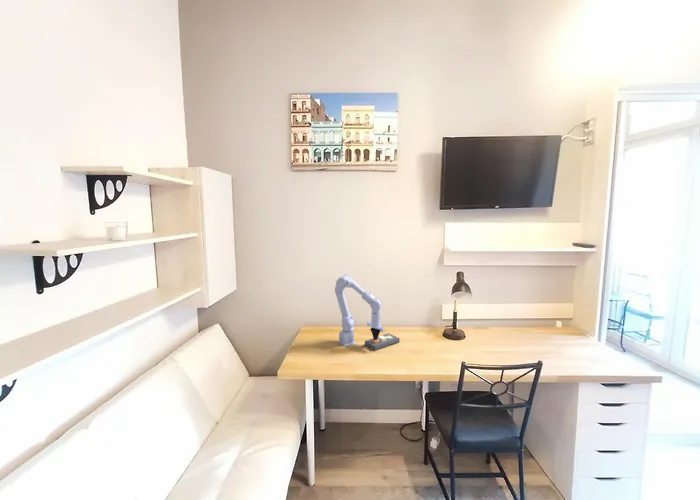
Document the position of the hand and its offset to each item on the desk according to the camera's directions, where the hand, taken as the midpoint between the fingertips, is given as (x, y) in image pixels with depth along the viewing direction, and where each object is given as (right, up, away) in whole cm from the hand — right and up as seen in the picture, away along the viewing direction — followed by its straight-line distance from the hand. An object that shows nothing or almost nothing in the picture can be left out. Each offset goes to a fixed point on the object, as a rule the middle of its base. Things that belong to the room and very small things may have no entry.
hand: (375, 339), depth 209 cm
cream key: (+5, -1, +4) cm, 6 cm away
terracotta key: (0, -2, 0) cm, 2 cm away
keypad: (+5, -4, +4) cm, 8 cm away
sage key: (+9, -2, +8) cm, 12 cm away
